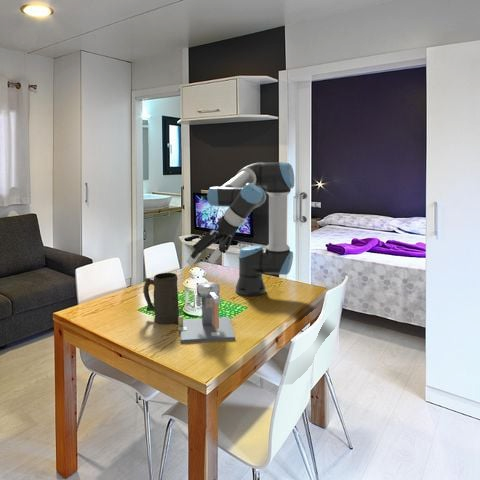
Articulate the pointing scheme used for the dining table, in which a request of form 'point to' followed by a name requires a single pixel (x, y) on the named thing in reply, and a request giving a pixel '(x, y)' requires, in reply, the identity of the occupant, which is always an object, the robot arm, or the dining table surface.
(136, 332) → the dining table surface
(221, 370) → the dining table surface
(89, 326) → the dining table surface
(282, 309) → the dining table surface
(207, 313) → the post on base plate
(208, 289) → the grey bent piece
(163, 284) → the beer stein
